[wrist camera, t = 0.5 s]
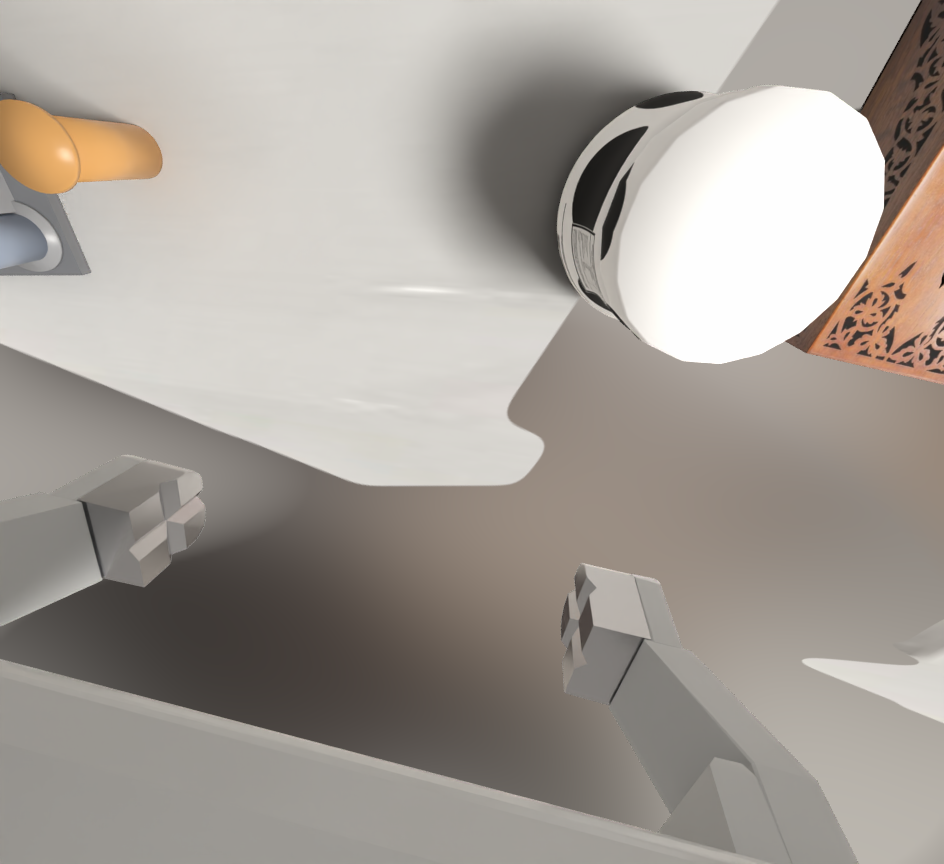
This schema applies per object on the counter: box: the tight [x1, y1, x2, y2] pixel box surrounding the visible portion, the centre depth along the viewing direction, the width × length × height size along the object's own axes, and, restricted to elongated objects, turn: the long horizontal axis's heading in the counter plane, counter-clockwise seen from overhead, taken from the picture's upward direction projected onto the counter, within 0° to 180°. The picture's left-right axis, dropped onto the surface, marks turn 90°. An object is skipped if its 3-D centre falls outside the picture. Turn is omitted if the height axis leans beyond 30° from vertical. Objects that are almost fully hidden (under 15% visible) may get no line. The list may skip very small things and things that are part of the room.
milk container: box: [557, 85, 885, 364], centre depth 34 cm, size 17×17×18 cm
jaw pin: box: [0, 99, 162, 194], centre depth 33 cm, size 5×5×11 cm
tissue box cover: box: [785, 0, 944, 385], centre depth 37 cm, size 26×14×10 cm, turn 167°
